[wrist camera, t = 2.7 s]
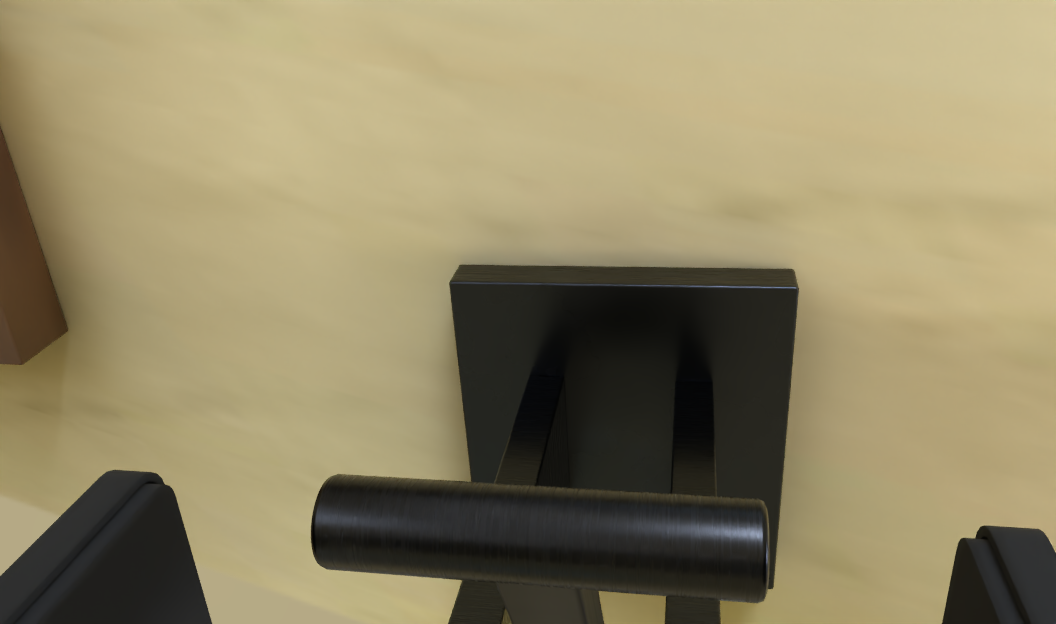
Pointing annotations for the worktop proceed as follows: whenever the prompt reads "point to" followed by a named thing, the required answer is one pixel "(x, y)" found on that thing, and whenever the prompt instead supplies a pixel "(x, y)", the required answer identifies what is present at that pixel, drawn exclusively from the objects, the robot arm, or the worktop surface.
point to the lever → (545, 541)
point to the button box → (23, 277)
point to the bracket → (625, 388)
